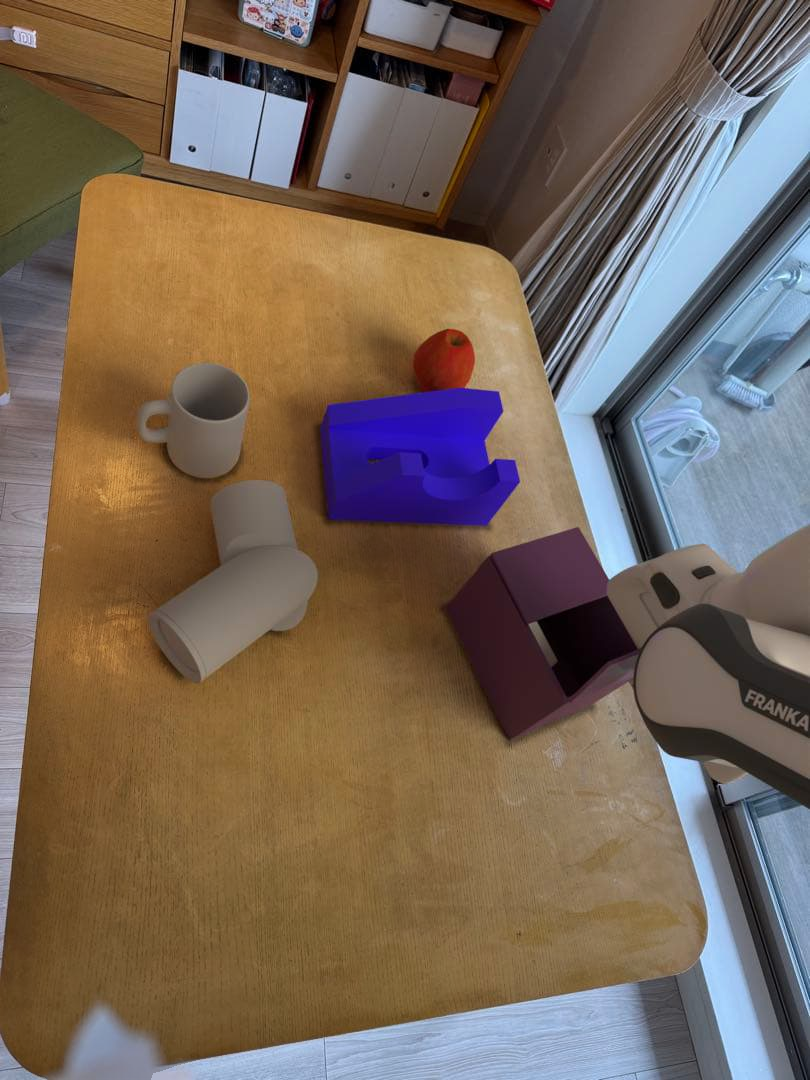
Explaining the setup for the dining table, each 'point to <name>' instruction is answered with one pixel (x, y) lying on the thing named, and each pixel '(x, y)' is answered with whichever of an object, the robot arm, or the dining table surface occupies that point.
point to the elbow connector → (238, 583)
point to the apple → (444, 361)
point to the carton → (561, 612)
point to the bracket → (415, 459)
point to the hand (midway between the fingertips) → (640, 692)
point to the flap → (608, 675)
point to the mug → (201, 419)
